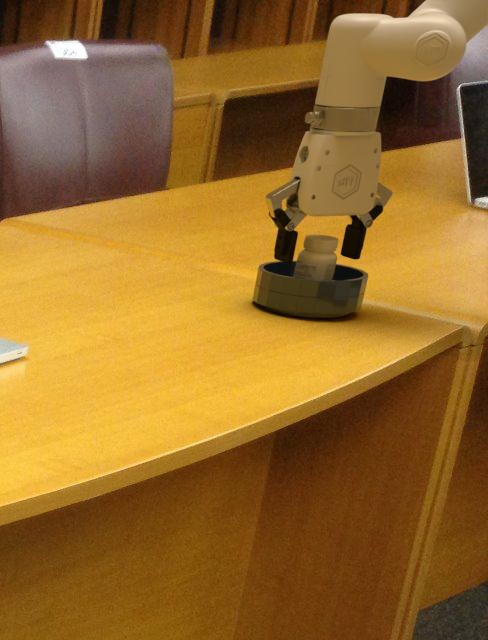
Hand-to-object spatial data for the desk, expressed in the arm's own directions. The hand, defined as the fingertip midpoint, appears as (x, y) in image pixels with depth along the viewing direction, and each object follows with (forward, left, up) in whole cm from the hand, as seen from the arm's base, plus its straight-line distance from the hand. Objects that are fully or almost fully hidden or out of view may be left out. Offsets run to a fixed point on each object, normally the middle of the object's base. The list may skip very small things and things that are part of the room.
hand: (316, 259), depth 199 cm
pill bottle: (0, 0, -6) cm, 6 cm away
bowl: (0, 0, -7) cm, 7 cm away
